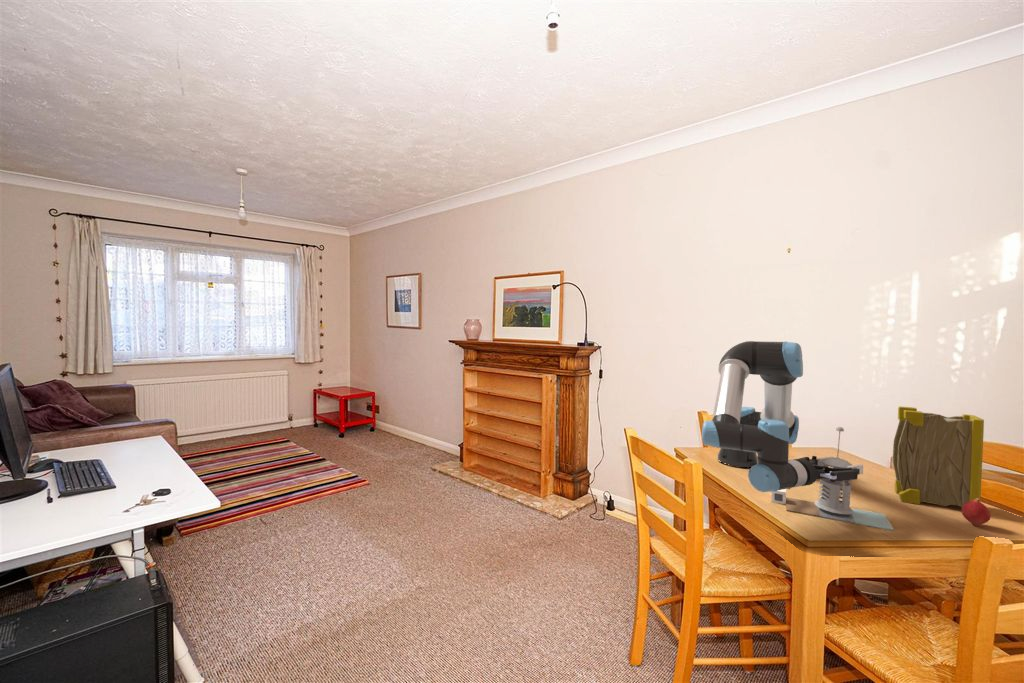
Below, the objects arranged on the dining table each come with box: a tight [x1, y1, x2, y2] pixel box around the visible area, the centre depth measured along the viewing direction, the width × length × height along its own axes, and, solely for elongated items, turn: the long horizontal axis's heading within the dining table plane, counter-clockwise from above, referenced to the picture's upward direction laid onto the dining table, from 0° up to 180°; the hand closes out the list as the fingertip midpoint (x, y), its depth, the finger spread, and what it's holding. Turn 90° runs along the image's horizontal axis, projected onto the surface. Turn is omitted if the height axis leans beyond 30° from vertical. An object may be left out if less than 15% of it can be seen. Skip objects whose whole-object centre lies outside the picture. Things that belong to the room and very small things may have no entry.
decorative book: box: [892, 406, 985, 508], centre depth 146 cm, size 20×11×30 cm, turn 58°
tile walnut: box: [785, 496, 821, 518], centre depth 141 cm, size 8×12×1 cm
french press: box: [814, 426, 853, 514], centre depth 135 cm, size 10×12×25 cm
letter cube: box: [770, 489, 787, 506], centre depth 145 cm, size 4×4×4 cm
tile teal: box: [850, 507, 894, 531], centre depth 132 cm, size 8×12×1 cm
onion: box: [961, 498, 992, 527], centre depth 129 cm, size 6×6×8 cm
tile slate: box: [817, 506, 855, 524], centre depth 136 cm, size 8×12×1 cm
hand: (846, 464), depth 138 cm, fingers closed on french press, 8 cm apart
